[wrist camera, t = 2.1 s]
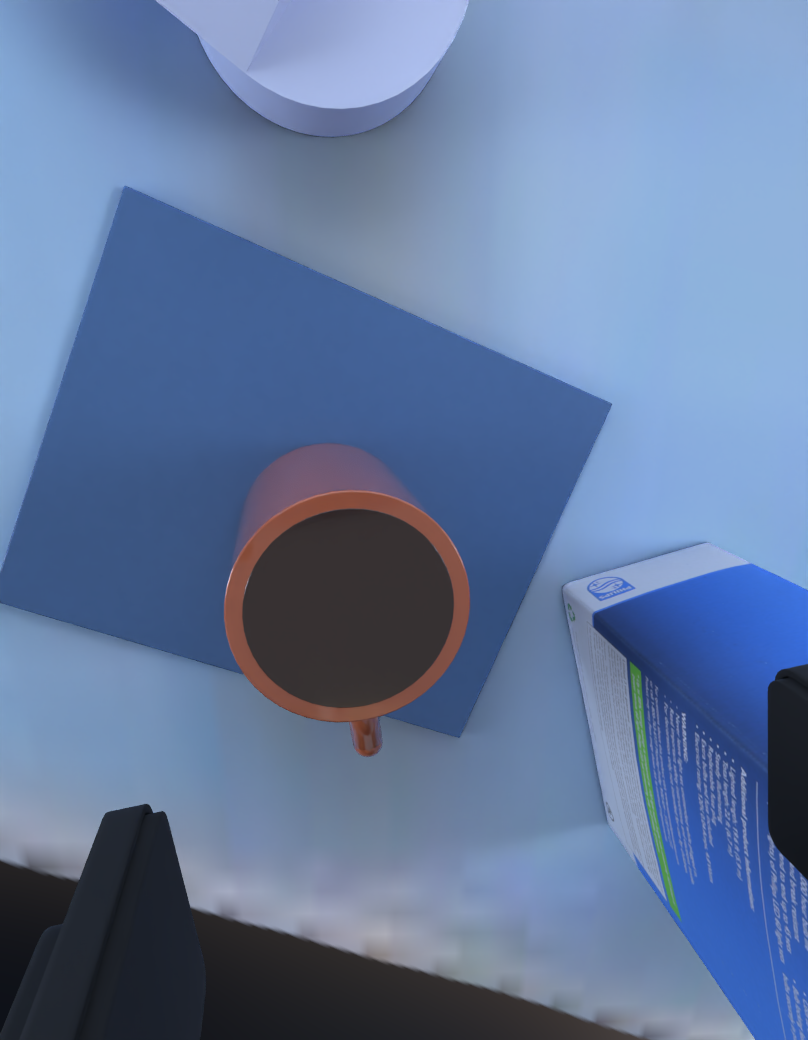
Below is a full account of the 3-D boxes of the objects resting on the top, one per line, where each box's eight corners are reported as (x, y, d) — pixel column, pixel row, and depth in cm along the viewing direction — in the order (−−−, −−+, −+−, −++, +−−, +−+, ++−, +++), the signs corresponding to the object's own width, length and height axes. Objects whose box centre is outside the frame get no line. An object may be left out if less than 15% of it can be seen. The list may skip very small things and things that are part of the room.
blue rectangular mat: (-7, 597, 28) (-9, 600, 28) (126, 186, 25) (124, 185, 25) (457, 734, 33) (459, 738, 32) (609, 403, 30) (612, 403, 30)
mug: (223, 457, 28) (200, 513, 19) (402, 430, 29) (457, 472, 20) (268, 686, 30) (265, 827, 22) (431, 655, 31) (490, 777, 23)
